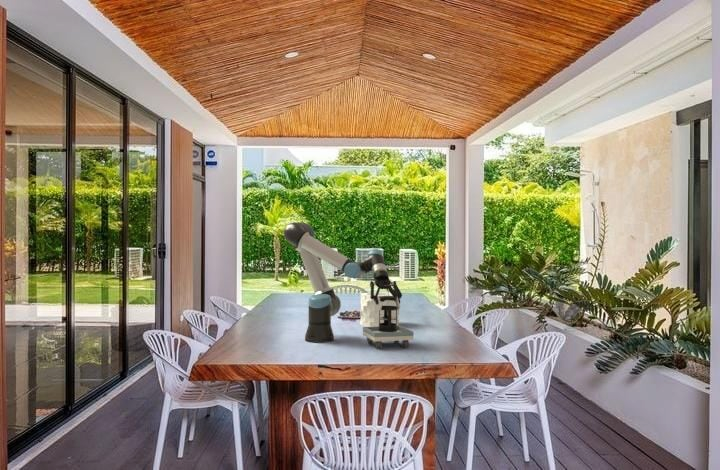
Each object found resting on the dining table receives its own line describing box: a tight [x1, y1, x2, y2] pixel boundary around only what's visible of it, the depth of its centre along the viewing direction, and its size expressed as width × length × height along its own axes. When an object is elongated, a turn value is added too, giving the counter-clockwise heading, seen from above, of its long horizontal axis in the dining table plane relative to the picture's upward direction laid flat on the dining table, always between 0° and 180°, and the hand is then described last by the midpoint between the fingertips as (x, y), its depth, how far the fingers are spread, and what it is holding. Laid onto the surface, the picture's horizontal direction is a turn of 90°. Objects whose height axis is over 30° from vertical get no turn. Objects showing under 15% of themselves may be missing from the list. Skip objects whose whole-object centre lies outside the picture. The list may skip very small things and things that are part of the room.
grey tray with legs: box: [362, 325, 414, 350], centre depth 306 cm, size 20×20×8 cm
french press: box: [378, 284, 398, 332], centre depth 306 cm, size 12×9×23 cm
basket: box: [359, 291, 400, 327], centre depth 376 cm, size 25×24×19 cm
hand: (389, 308), depth 303 cm, fingers closed on french press, 9 cm apart
